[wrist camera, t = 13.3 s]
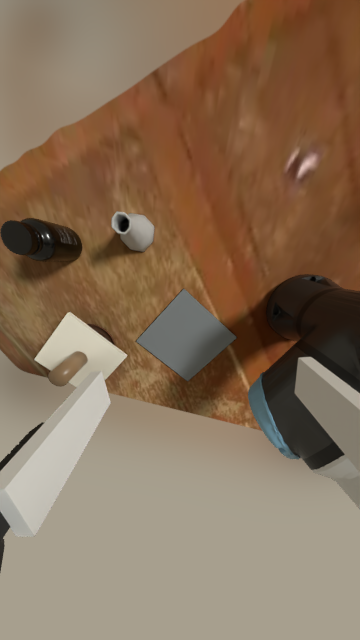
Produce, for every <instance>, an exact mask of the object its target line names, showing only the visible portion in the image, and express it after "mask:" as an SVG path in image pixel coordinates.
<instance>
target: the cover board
mask: <svg viewBox="0 0 360 640" xmlns="http://www.w3.org/2000/svg"><path fill="white" fill-rule="evenodd" d="M126 357H127V354H125V353H124V352H123V351H121V350H120V349H119V348H117V347H116V346H115V345H113V344H112V343H111V342H109V341H108V340H107V339H105V338H104V337H103V336H101V335H100V334H99V333H97V332H96V331H95V330H93V329H92V328H91V327H89V326H88V325H87V324H85V323H84V322H83V321H81V320H80V319H79V318H77V317H76V316H75V315H73V314H72V313H71V312H69V313H67V314H66V316H65V317H64V319H63V320H62V321H61V323H60V324H59V326H58V327H57V328H56V330H55V331H54V333H53V334H52V335H51V337H50V338H49V340H48V341H47V342H46V344H45V345H44V347H43V348H42V349H41V351H40V352H39V354H38V355H37V356H36V358H35V359H34V360H35V361H37V362H38V363H40V364H41V365H43V366H44V367H46V368H47V369H49V370H51V372H50V373H49V374H48V379H49V381H50V382H51V383H52V384H54V385H56V386H64V385H66V384H67V383H68V382H69V383H70V384H72V385H73V386H75V387H76V388H77V387H78V386H79V385H80V383H81V382H82V381H83V380H84V379H85V378H86V377H87V376H88V375H89V374H90V373H91V372H95V371H102V374H103V378H104V381H105V380H106V378H107V377H108V376H109V375H110V374H111V373H112V372H113V371H114V370H115V369H116V368H117V367H118V365H119V364H120V363H121V362H122V361H123V360H124V359H125V358H126Z"/></svg>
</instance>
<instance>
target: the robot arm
mask: <svg viewBox="0 0 360 640" xmlns="http://www.w3.org/2000/svg"><path fill="white" fill-rule="evenodd" d="M266 314H267V320H268V323H269V325H270V326H271V328H272V329H273V330H274V331H275V332H277V333H278V334H279V335H281V336H282V337H284V338H287V339H289V340H294V341H298V342H297V343H296V344H295V345H293V346H292V347H291V348H290V349H289V350H288V351H287V352H286V353H285V354H284V355H283V356H282V357H280V358H279V359H278V360H277V361H276V362H275V363H274V364H273V365H272V366H271V367H270V368H269V369H268V370H266V371H265V372H263V373H261V374H260V377H259V378H258V379H257V380H256V381H255V382H254V383H253V384H252V385H251V387H250V389H249V392H248V398H249V404H250V407H251V410H252V412H253V415H254V417H255V419H256V421H257V422H258V424H259V426H260V427H261V429H262V431H263V432H264V434H265V435H266V436H267V438H268V439H269V440H270V442H271V443H272V444H273V445H274V446H275V447H276V448H278V449H279V451H280V452H281V453H282V454H283V455H284V456H286V457H287V458H290V459H299V458H302V459H303V460H304V461H305V463H306V464H307V465H308V466H309V468H310V469H311V470H312V471H313V472H314V473H317V474H320V475H323V476H326V477H328V478H331V479H333V480H334V481H336V482H337V484H338V485H339V486H340V487H341V488H342V489H343V490H344V492H345V493H346V494H347V495H348V496H349V497H350V499H351V500H352V501H353V502H354V503H355V504H356V506H357V507H358V508H359V509H360V291H354V290H348V289H343V288H342V287H340V286H339V285H337V284H336V283H334V282H333V281H331V280H330V279H328V278H325V277H323V276H318V275H309V274H305V275H298V276H295V277H292V278H290V279H288V280H286V281H285V282H283V283H282V284H281V285H280V286H279V287H277V289H276V290H275V291H274V292H273V294H272V295H271V297H270V299H269V301H268V305H267V311H266ZM297 347H298V348H297ZM110 403H111V402H110V399H109V396H108V392H107V388H106V385H105V381H104V378H103V374H102V371H95V372H91V373H90V374H89V375H88V376H87V377H86V378H85V379H84V380H83V381H82V382H81V383H80V385H79V386H78V387H77V388H76V389H75V390H74V391H73V392H72V394H70V395H69V397H68V398H67V399H66V400H65V401H64V402H63V403H62V404H61V405H60V407H59V408H58V409H57V410H56V411H55V412H54V413H53V414H52V415H51V416H50V417H49V419H48V420H47V421H46V422H45V423H41V424H39V425H38V426H37V427H35V428H34V429H33V430H31V431H30V432H29V433H28V434H27V435H26V436H25V437H24V438H23V439H22V440H21V441H20V442H19V445H17V446H16V447H15V448H14V449H13V450H12V451H11V453H10V454H8V455H7V456H6V457H5V458H4V459H3V460H2V461H1V462H0V571H1V564H2V558H3V552H4V539H3V537H4V535H5V534H6V532H7V531H8V529H9V528H11V529H12V531H13V532H14V534H15V535H16V536H35V535H36V534H37V532H38V530H39V528H40V526H41V525H42V523H43V521H44V519H45V517H46V516H47V514H48V512H49V511H50V509H51V507H52V505H53V504H54V502H55V500H56V498H57V496H58V495H59V493H60V491H61V489H62V488H63V486H64V484H65V482H66V480H67V479H68V477H69V475H70V473H71V472H72V470H73V468H74V466H75V465H76V463H77V461H78V459H79V458H80V456H81V454H82V452H83V450H84V449H85V447H86V445H87V444H88V442H89V440H90V438H91V437H92V435H93V433H94V431H95V429H96V428H97V426H98V424H99V422H100V421H101V419H102V417H103V415H104V414H105V412H106V410H107V408H108V407H109V405H110Z"/></svg>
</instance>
